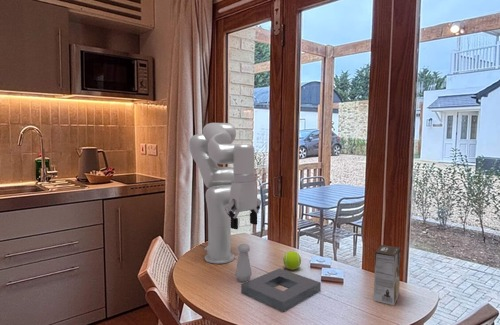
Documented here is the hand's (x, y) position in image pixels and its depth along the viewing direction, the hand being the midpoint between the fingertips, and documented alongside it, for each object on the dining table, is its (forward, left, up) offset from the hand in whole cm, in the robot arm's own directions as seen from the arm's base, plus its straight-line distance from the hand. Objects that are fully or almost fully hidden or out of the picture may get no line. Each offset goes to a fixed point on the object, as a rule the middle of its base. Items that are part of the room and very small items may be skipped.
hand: (244, 226), depth 124 cm
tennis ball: (+6, +21, -20) cm, 30 cm away
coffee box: (+43, +23, -20) cm, 53 cm away
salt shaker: (0, 0, -20) cm, 20 cm away
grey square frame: (+16, +2, -20) cm, 25 cm away
